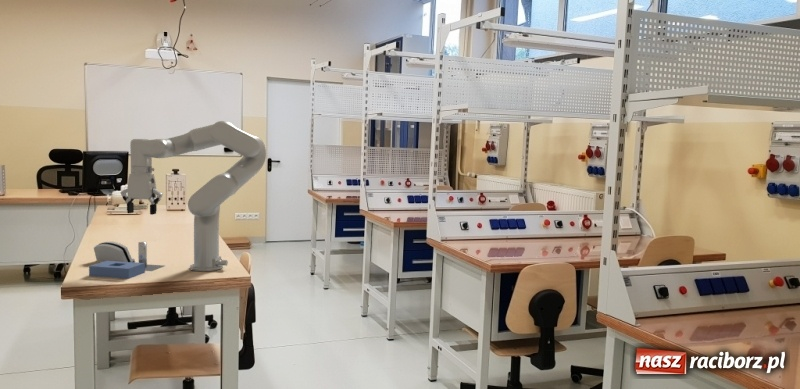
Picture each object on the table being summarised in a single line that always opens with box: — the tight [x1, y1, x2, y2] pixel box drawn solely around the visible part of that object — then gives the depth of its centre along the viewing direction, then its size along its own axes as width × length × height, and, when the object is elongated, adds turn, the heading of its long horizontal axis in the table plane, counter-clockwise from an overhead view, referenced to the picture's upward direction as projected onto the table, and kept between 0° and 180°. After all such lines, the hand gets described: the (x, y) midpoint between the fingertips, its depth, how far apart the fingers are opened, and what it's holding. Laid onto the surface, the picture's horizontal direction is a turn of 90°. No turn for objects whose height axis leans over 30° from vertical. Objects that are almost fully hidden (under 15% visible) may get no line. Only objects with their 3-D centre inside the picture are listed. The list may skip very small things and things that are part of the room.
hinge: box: [93, 241, 136, 263], centre depth 235 cm, size 17×5×10 cm, turn 68°
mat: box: [145, 263, 165, 272], centre depth 228 cm, size 14×10×1 cm
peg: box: [137, 241, 148, 268], centre depth 227 cm, size 3×3×10 cm
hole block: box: [88, 261, 146, 280], centre depth 215 cm, size 16×10×4 cm, turn 82°
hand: (141, 213), depth 226 cm, fingers open, 9 cm apart
